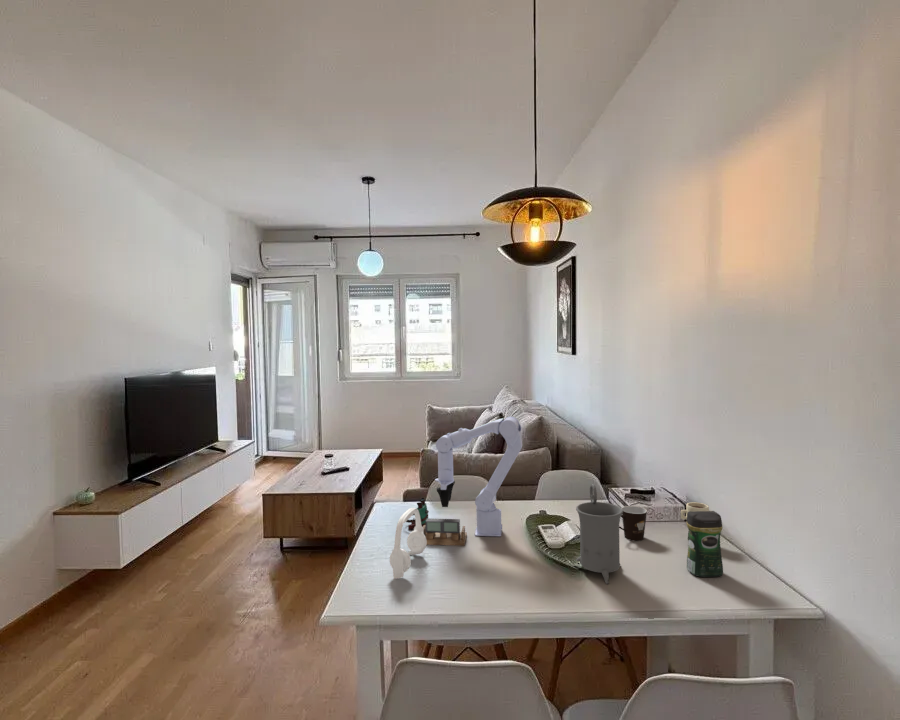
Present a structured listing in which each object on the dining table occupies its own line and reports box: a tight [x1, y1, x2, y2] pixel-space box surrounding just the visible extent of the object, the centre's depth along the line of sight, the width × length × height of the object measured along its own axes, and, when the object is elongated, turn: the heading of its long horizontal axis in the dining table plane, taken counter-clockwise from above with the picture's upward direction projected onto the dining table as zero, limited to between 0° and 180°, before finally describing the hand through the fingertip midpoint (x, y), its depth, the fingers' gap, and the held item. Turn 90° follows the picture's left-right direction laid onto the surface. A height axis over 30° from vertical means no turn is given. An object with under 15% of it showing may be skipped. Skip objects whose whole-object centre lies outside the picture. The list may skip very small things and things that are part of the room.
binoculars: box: [405, 497, 429, 530], centre depth 202 cm, size 9×11×10 cm
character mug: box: [680, 501, 710, 541], centre depth 182 cm, size 11×7×13 cm, turn 81°
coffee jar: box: [686, 510, 724, 578], centre depth 159 cm, size 10×8×19 cm
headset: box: [389, 507, 427, 580], centre depth 166 cm, size 20×7×18 cm, turn 164°
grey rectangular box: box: [426, 517, 461, 533], centre depth 188 cm, size 12×3×4 cm, turn 83°
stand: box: [423, 525, 468, 547], centre depth 189 cm, size 16×10×4 cm, turn 83°
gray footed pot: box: [575, 483, 623, 585], centre depth 161 cm, size 19×15×25 cm
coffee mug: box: [619, 505, 648, 542], centre depth 187 cm, size 12×9×10 cm
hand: (446, 503), depth 198 cm, fingers open, 7 cm apart
